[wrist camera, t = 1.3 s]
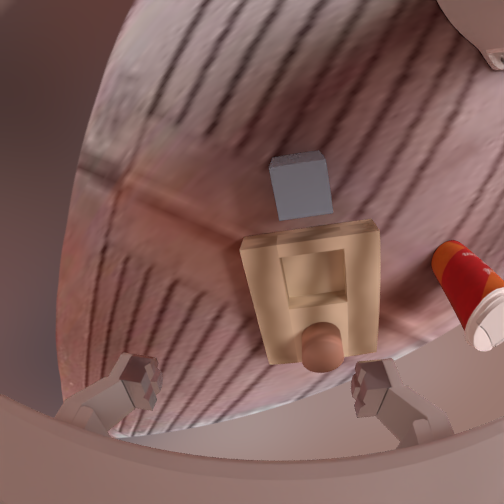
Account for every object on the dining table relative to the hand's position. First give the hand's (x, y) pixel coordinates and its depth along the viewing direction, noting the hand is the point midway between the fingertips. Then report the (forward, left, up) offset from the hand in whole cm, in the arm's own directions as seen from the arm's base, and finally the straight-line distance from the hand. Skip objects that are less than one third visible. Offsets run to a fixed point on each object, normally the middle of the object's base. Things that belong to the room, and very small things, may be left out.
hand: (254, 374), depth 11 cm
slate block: (-3, -2, -24) cm, 24 cm away
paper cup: (-21, +11, -24) cm, 34 cm away
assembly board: (-3, +13, -24) cm, 27 cm away
